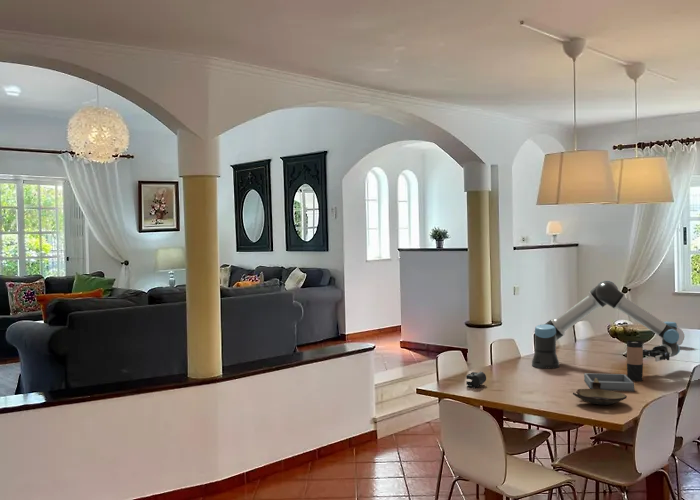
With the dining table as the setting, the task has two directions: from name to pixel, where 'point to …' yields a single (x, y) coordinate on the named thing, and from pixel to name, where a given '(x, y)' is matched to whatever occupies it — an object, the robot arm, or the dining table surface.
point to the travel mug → (635, 360)
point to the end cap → (475, 379)
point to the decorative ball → (680, 336)
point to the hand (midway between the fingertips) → (643, 357)
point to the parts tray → (610, 381)
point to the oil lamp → (599, 395)
